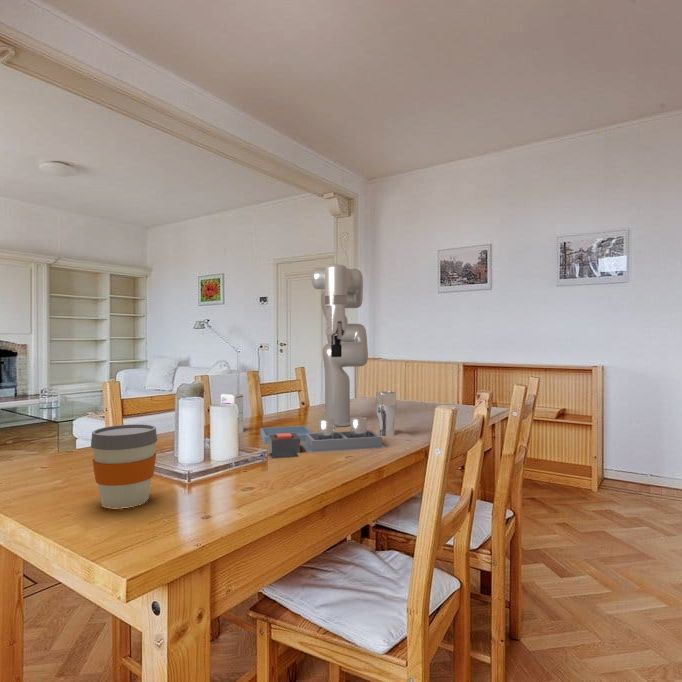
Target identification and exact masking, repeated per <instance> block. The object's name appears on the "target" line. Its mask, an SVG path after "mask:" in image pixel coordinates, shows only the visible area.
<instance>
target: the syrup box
mask: <svg viewBox="0 0 682 682" xmlns="http://www.w3.org/2000/svg"><path fill="white" fill-rule="evenodd" d="M221 404H237V406H238V409H239V434H238V435H240V434H243V433H244V393H229V392H227V393H226V392H225V393H222V394H220V405H221Z"/></svg>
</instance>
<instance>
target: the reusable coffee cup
mask: <svg viewBox="0 0 682 682" xmlns="http://www.w3.org/2000/svg"><path fill="white" fill-rule="evenodd" d="M157 434H158V433H157V428H156V426H155V425H151V424H141V423H139V424H137V423H136V424H134V423H133V424H121V425H120V424H118V425H111V426H105V427H101V428H98V429H95V430H93V431H92V432H91V439H90V440H91V441H90V447H91V449H92V450H93V452H92V453H93V459H92V467H93V473H94V479H95V483H96V484H98V489H99V491H98V492H99V497H100V504H102V505H103V506H105V507H110V508H122V507H130V506H135V505H139V504H142V503H144V502H146V501H147V500H148V499H150V491H151V490H150V489H151V482H152V478H153V477H154V476H155V475H154V474H155V466H156V459H157V458H156V457H157V453H156V452H155V449H156V444H157V442H158V436H157ZM148 501H149V500H148ZM148 501H147V502H148ZM147 502H146V503H147ZM144 504H145V503H144ZM102 505H101V506H102ZM142 505H143V504H142Z"/></svg>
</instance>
